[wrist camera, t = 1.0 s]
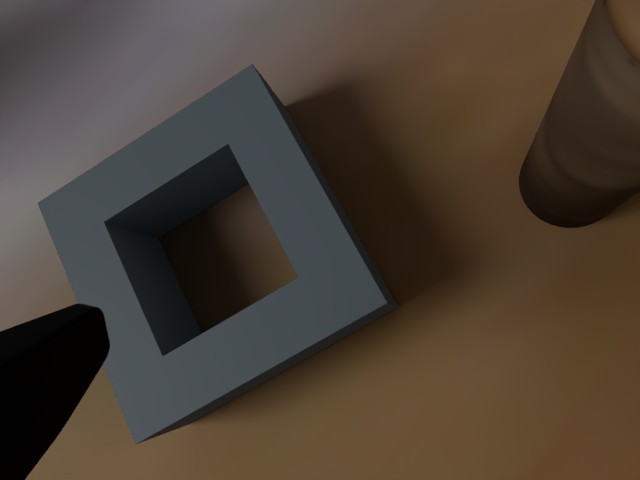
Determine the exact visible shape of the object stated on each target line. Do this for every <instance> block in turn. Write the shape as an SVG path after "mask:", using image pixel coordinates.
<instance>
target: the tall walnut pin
mask: <svg viewBox="0 0 640 480" xmlns="http://www.w3.org/2000/svg"><path fill="white" fill-rule="evenodd" d="M519 186H520V192H521V195H522V198H523V200H524V202H525V204H526V205H527V207H528V208H529V209H530V211H531V212H532V213H533V214H535V215H536V216H537V217H538V218H540V219H541V220H543V221H545V222H547V223H549V224H551V225H555V226H559V227H565V228H575V227H582V226H586V225H589V224H592V223H594V222H596V221H598V220H599V219H601V218H603V217H604V216H605V215H607V214H608V213H610V212H611V211H612V210H614V209H615V208H617V207H618V206H619V205H621V204H622V203H624V202H625V201H626V200H628V199H629V198H631V197H632V196H633V195H635V194H636V193H638V192H639V191H640V0H596V1H595V3H594V5H593V7H592V10H591V12H590V14H589V16H588V19H587V21H586V23H585V25H584V28H583V30H582V32H581V34H580V37H579V39H578V41H577V43H576V46H575V48H574V50H573V52H572V55H571V57H570V59H569V61H568V64H567V66H566V68H565V70H564V73H563V75H562V77H561V79H560V82H559V84H558V86H557V88H556V91H555V93H554V95H553V97H552V100H551V102H550V104H549V106H548V109H547V111H546V113H545V115H544V118H543V120H542V122H541V124H540V127H539V129H538V131H537V133H536V136H535V138H534V140H533V142H532V145H531V147H530V149H529V151H528V154H527V156H526V158H525V160H524V163H523V165H522V168H521V171H520V176H519Z"/></svg>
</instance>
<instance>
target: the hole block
mask: <svg viewBox="0 0 640 480" xmlns="http://www.w3.org/2000/svg"><path fill="white" fill-rule="evenodd" d="M247 183H249V185H250V186H251V188H252V190H253V192H254V194H255V196H256V198H257V200H258V202H259V204H260V206H261V207H262V209H263V211H264V213H265V215H266V217H267V219H268V221H269V223H270V225H271V226H272V228H273V230H274V232H275V234H276V236H277V238H278V240H279V242H280V244H281V245H282V247H283V249H284V251H285V253H286V255H287V257H288V259H289V261H290V263H291V265H292V266H293V268H294V270H295V272H296V274H297V276H298V278H297V279H295V280H293V281H292V282H290V283H288V284H286V285H285V286H283V287H281V288H280V289H278V290H276V291H274V292H273V293H271V294H269V295H268V296H266V297H264V298H262V299H261V300H259V301H257V302H256V303H254V304H252V305H250V306H249V307H247V308H245V309H244V310H242V311H240V312H238V313H237V314H235V315H233V316H231V317H230V318H228V319H226V320H225V321H223V322H221V323H219V324H218V325H216V326H214V327H213V328H211V329H209V330H207V331H206V332H204V333H202V332H201V330H200V327H199V325H198V323H197V321H196V319H195V317H194V314H193V312H192V310H191V308H190V306H189V304H188V301H187V299H186V297H185V295H184V293H183V291H182V289H181V286H180V284H179V282H178V280H177V278H176V276H175V273H174V271H173V269H172V267H171V265H170V263H169V260H168V258H167V256H166V254H165V252H164V250H163V247H162V245H161V243H160V241H159V239H158V238H160V237H161V236H163V235H165V234H166V233H168V232H169V231H171V230H173V229H174V228H176V227H178V226H179V225H181V224H182V223H184V222H186V221H187V220H189V219H191V218H192V217H194V216H195V215H197V214H199V213H200V212H202V211H204V210H205V209H207V208H208V207H210V206H212V205H213V204H215V203H217V202H218V201H220V200H221V199H223V198H225V197H226V196H228V195H230V194H231V193H233V192H234V191H236V190H238V189H239V188H241V187H243V186H244V185H246V184H247ZM38 205H39V208H40V210H41V213H42V215H43V218H44V220H45V223H46V225H47V228H48V230H49V232H50V235H51V237H52V240H53V242H54V245H55V247H56V250H57V252H58V255H59V257H60V259H61V262H62V264H63V267H64V269H65V272H66V274H67V277H68V279H69V282H70V284H71V287H72V289H73V291H74V294H75V296H76V299H77V301H78V304H79V303H80V304H86V305H91V306H95V307H98V308H100V309H101V310H102V312H103V313H104V317H105V322H106V326H107V331H108V336H109V341H110V350H109V353H108V356H107V358H106V360H105V361H104V363H103V365H104V368H105V370H106V372H107V375H108V377H109V380H110V382H111V385H112V387H113V390H114V392H115V395H116V397H117V400H118V402H119V404H120V407H121V409H122V412H123V414H124V417H125V419H126V422H127V424H128V427H129V429H130V431H131V434H132V436H133V439H134V441H135V444H138V443H140V442H143V441H146V440H148V439H151V438H154V437H156V436H159V435H162V434H164V433H167V432H170V431H172V430H175V429H178V428H180V427H183V426H186V425H188V424H190V423H192V422H194V421H196V420H197V419H199V418H201V417H203V416H205V415H206V414H208V413H210V412H212V411H214V410H215V409H217V408H219V407H221V406H222V405H224V404H226V403H228V402H230V401H231V400H233V399H235V398H237V397H239V396H240V395H242V394H244V393H246V392H247V391H249V390H251V389H253V388H255V387H256V386H258V385H260V384H262V383H264V382H265V381H267V380H269V379H271V378H273V377H274V376H276V375H278V374H280V373H281V372H283V371H285V370H287V369H289V368H290V367H292V366H294V365H296V364H298V363H299V362H301V361H303V360H305V359H306V358H308V357H310V356H312V355H314V354H315V353H317V352H319V351H321V350H323V349H324V348H326V347H328V346H330V345H332V344H333V343H335V342H337V341H339V340H340V339H342V338H344V337H346V336H348V335H349V334H351V333H353V332H355V331H357V330H358V329H360V328H362V327H364V326H366V325H367V324H369V323H371V322H373V321H374V320H376V319H378V318H380V317H382V316H383V315H385V314H387V313H389V312H391V311H392V310H394V309H396V308H398V305H397V303H396V302H395V300H394V298H393V296H392V295H391V293H390V291H389V289H388V288H387V286H386V284H385V282H384V281H383V279H382V277H381V275H380V274H379V272H378V270H377V268H376V267H375V265H374V263H373V261H372V259H371V258H370V256H369V254H368V252H367V251H366V249H365V247H364V245H363V244H362V242H361V240H360V238H359V237H358V235H357V233H356V231H355V230H354V228H353V226H352V224H351V223H350V221H349V219H348V217H347V215H346V214H345V212H344V210H343V208H342V207H341V205H340V203H339V201H338V200H337V198H336V196H335V194H334V193H333V191H332V189H331V187H330V186H329V184H328V182H327V180H326V178H325V177H324V175H323V173H322V171H321V170H320V168H319V166H318V164H317V163H316V161H315V159H314V157H313V156H312V154H311V152H310V150H309V149H308V147H307V145H306V143H305V142H304V140H303V138H302V136H301V134H300V133H299V131H298V129H297V127H296V126H295V124H294V122H293V120H292V119H291V117H290V115H289V113H288V112H287V110H286V108H285V106H284V105H283V104H282V102H281V101H280V100H279V98H278V97H277V96H276V94H275V93H274V92H273V90H272V89H271V88H270V86H269V85H268V84H267V82H266V81H265V80H264V78H263V77H262V76H261V74H260V73H259V72H258V71H257V69H256V68H255V67H254V65H253V64H252V65H250V66H249V67H247V68H246V69H244V70H243V71H241V72H239V73H238V74H236V75H235V76H233V77H232V78H230V79H229V80H227V81H226V82H224V83H222V84H221V85H219V86H218V87H216V88H215V89H213V90H212V91H210V92H209V93H207V94H205V95H204V96H202V97H201V98H199V99H198V100H196V101H195V102H193V103H192V104H190V105H188V106H187V107H185V108H184V109H182V110H181V111H179V112H178V113H176V114H175V115H173V116H171V117H170V118H168V119H167V120H165V121H164V122H162V123H161V124H159V125H158V126H156V127H154V128H153V129H151V130H150V131H148V132H147V133H145V134H144V135H142V136H141V137H139V138H137V139H136V140H134V141H133V142H131V143H130V144H128V145H127V146H125V147H124V148H122V149H120V150H119V151H117V152H116V153H114V154H113V155H111V156H110V157H108V158H107V159H105V160H103V161H102V162H100V163H99V164H97V165H96V166H94V167H93V168H91V169H90V170H88V171H86V172H85V173H83V174H82V175H80V176H79V177H77V178H76V179H74V180H73V181H71V182H69V183H68V184H66V185H65V186H63V187H62V188H60V189H59V190H57V191H56V192H54V193H52V194H51V195H49V196H48V197H46V198H45V199H43V200H42V201H40V202H39V203H38Z"/></svg>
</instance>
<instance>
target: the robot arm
mask: <svg viewBox="0 0 640 480" xmlns="http://www.w3.org/2000/svg"><path fill="white" fill-rule="evenodd" d="M109 350H110V341H109V336H108V331H107V326H106V322H105V317H104V313H103V312H102V310H101V309H100V308H98V307H95V306H91V305H86V304H80V303H79V304H75V305H72V306H69V307H66V308H64V309H61V310H58V311H55V312H53V313H50V314H47V315H44V316H42V317H39V318H36V319H33V320H31V321H28V322H25V323H22V324H20V325H17V326H14V327H12V328H9V329H6V330H3V331H1V332H0V480H25V479H26V477H27V476H28V475H29V473H30V472H31V471H32V469H33V468H34V467H35V465H36V464H37V463H38V461H39V460H40V459H41V458H42V456H43V455H44V454H45V452H46V451H47V450H48V448H49V447H50V446H51V444H52V443H53V442H54V440H55V439H56V437H57V436H58V435H59V433H60V432H61V430H62V429H63V427H64V426H65V424H66V423H67V421H68V420H69V418H70V417H71V415H72V413H73V412H74V410H75V409H76V407H77V405H78V404H79V402H80V400H81V399H82V397H83V396H84V394H85V392H86V391H87V389H88V387H89V386H90V384H91V383H92V381H93V379H94V378H95V376H96V374H97V373H98V371H99V370H100V368H101V366H102V365H103V363H104V361H105V360H106V358H107V356H108V353H109Z"/></svg>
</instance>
